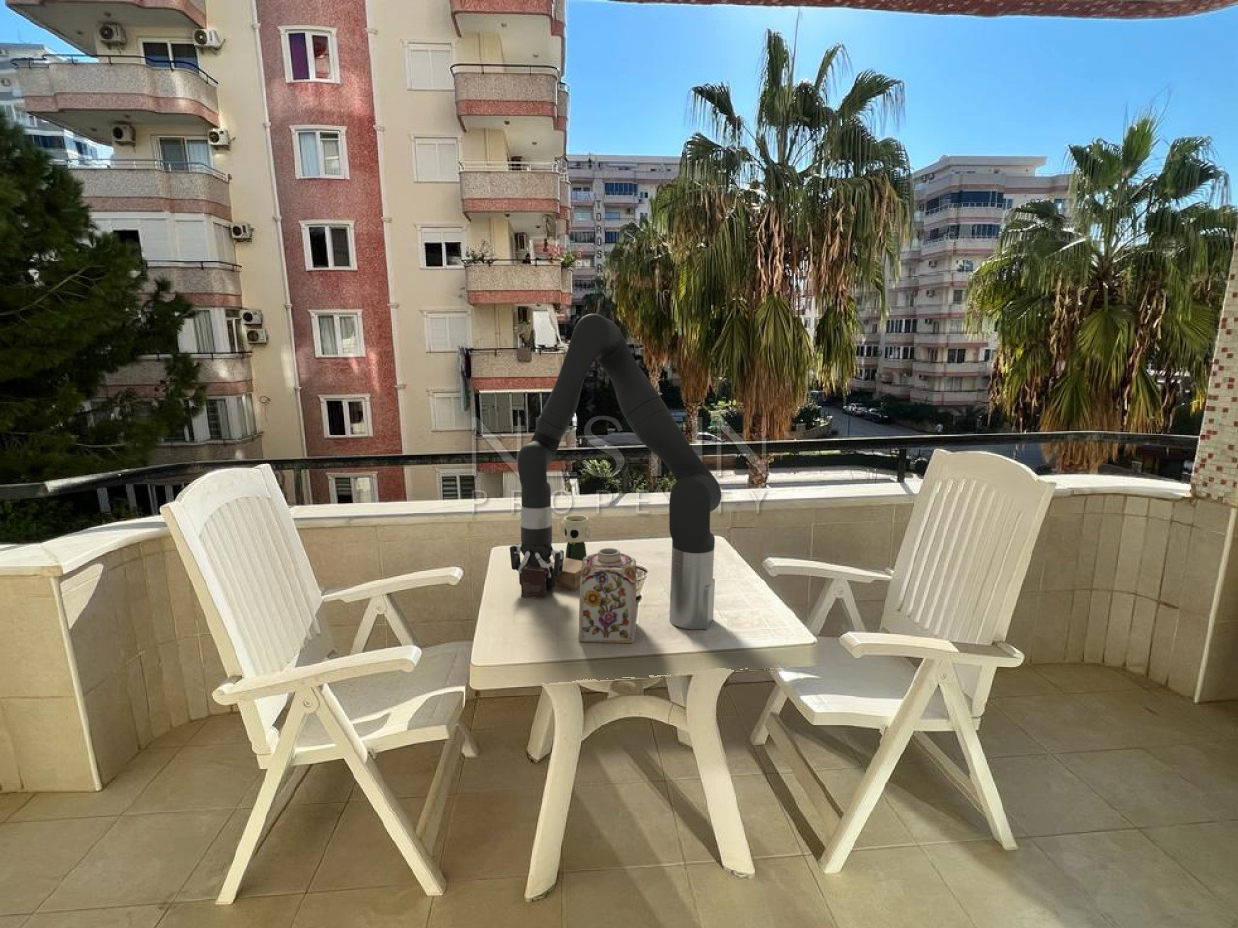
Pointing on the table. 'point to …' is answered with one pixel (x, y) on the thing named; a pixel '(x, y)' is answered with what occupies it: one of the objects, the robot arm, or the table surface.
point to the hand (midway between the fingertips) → (536, 588)
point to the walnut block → (569, 575)
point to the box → (533, 581)
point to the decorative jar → (607, 597)
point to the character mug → (576, 535)
